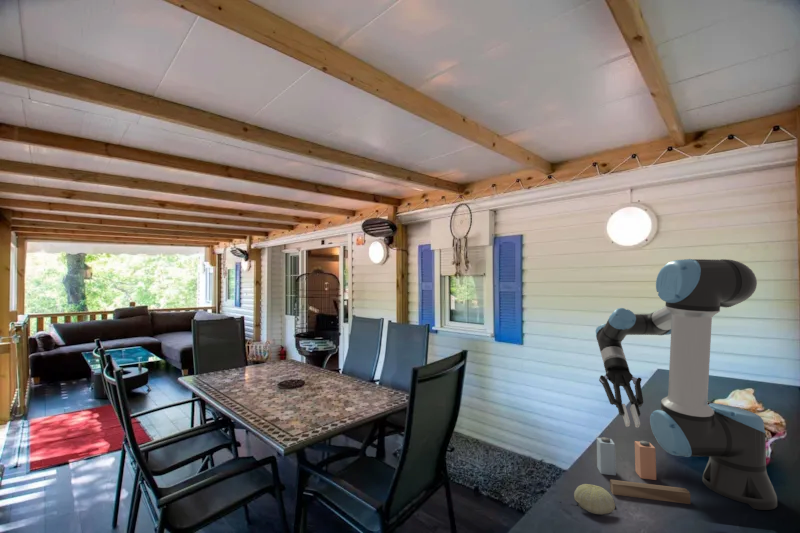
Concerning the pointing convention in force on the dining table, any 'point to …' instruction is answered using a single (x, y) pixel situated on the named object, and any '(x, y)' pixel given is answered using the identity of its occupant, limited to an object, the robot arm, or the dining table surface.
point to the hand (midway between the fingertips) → (633, 425)
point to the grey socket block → (606, 456)
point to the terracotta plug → (645, 460)
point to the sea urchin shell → (594, 499)
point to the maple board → (650, 491)
